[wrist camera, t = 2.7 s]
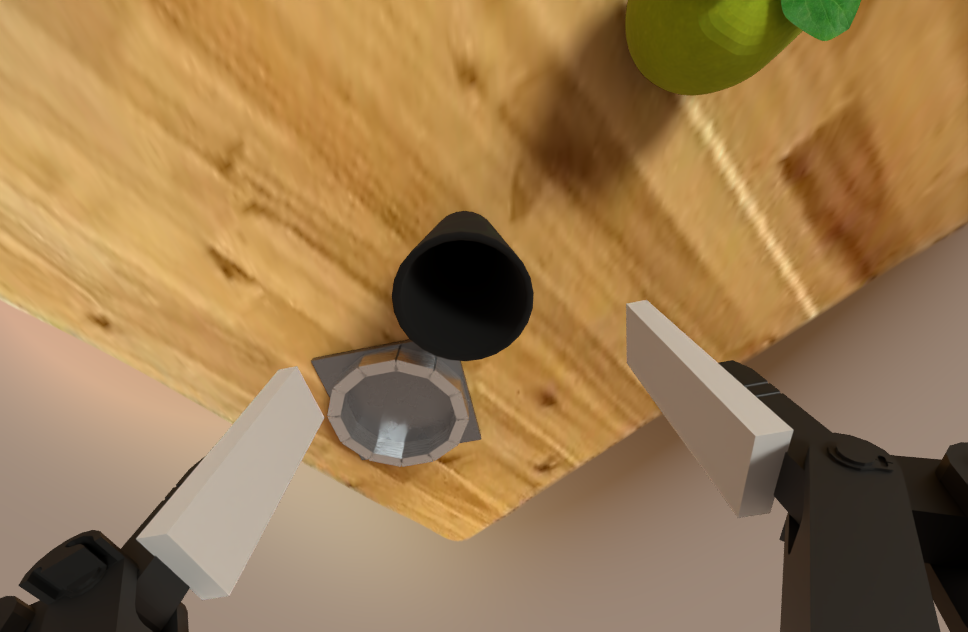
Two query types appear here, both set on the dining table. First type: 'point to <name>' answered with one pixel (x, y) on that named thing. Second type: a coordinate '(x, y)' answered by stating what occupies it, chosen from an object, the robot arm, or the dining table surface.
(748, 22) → the fruit
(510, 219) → the dining table surface
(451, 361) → the duct collar
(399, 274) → the cup
